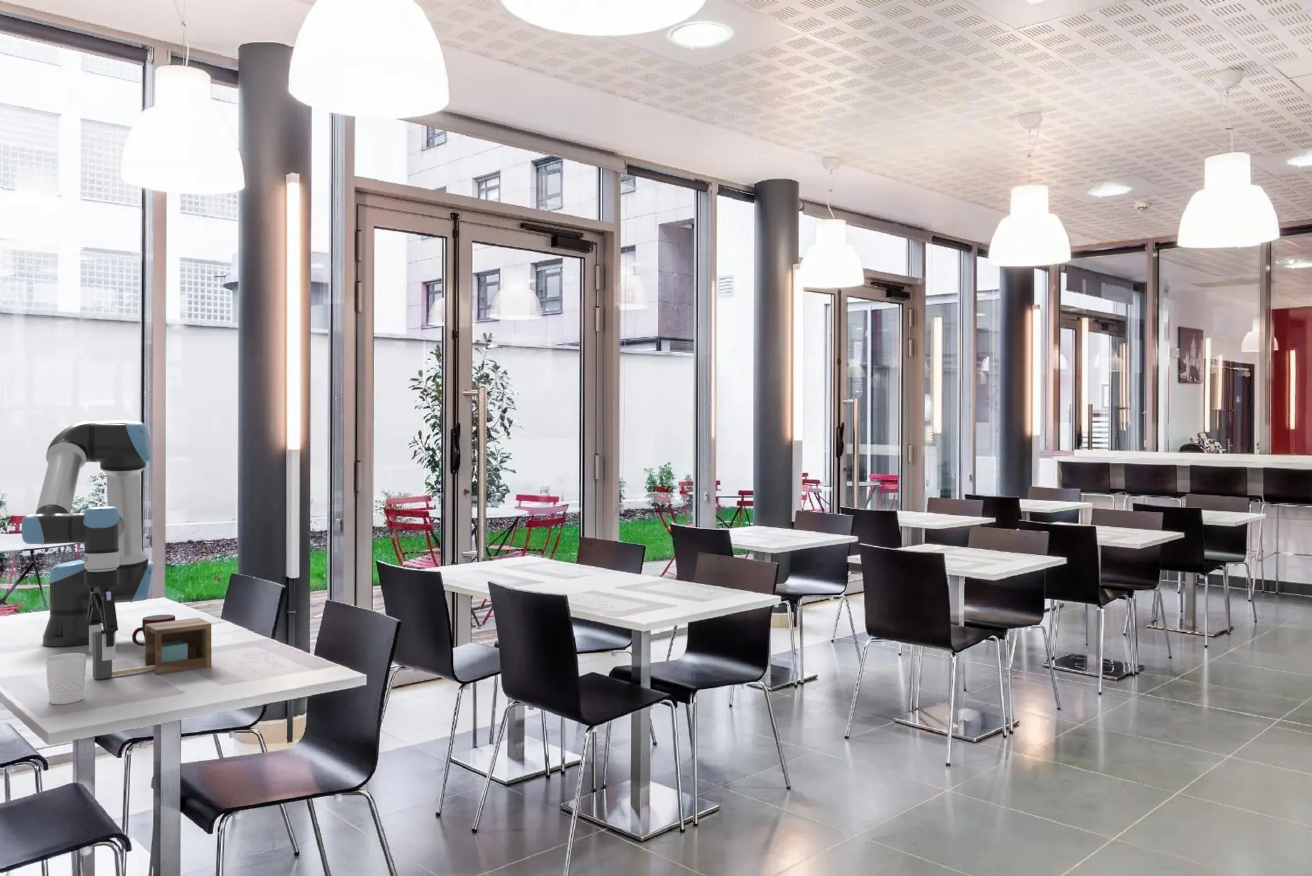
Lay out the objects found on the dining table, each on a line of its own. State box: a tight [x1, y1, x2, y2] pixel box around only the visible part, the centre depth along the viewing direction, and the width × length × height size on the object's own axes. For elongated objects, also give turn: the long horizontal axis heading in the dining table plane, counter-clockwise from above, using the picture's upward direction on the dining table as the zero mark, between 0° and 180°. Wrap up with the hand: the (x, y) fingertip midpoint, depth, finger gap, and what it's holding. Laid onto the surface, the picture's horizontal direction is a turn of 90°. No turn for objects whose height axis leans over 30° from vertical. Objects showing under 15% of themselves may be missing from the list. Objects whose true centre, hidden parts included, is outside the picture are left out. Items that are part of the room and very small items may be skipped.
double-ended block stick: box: [92, 632, 188, 680], centre depth 252 cm, size 6×21×11 cm, turn 131°
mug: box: [131, 614, 176, 647], centre depth 272 cm, size 11×8×10 cm
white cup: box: [45, 652, 87, 705], centre depth 226 cm, size 8×8×10 cm
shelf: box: [144, 617, 213, 676], centre depth 258 cm, size 10×13×11 cm
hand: (102, 655), depth 246 cm, fingers open, 13 cm apart
